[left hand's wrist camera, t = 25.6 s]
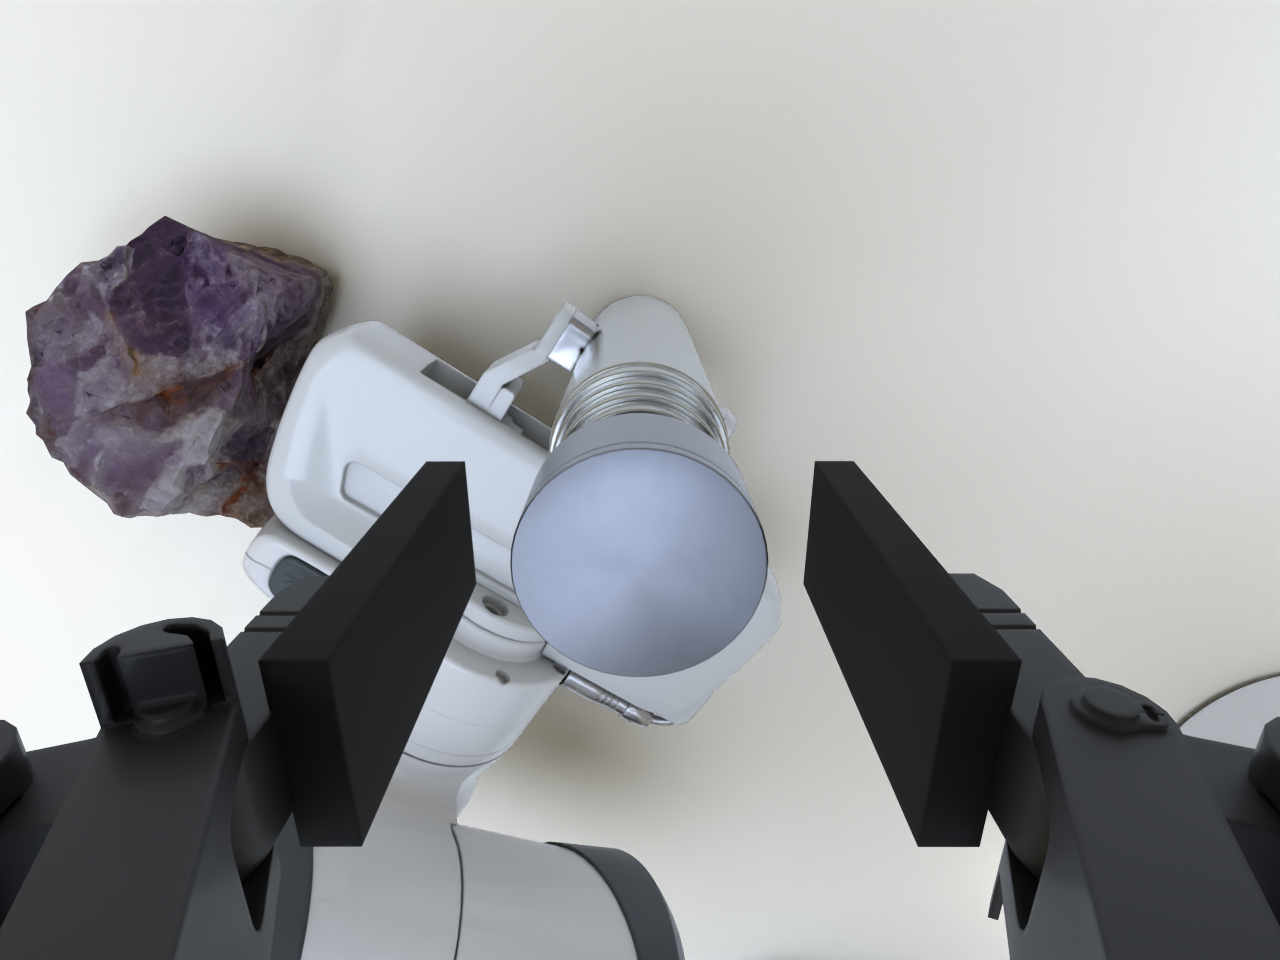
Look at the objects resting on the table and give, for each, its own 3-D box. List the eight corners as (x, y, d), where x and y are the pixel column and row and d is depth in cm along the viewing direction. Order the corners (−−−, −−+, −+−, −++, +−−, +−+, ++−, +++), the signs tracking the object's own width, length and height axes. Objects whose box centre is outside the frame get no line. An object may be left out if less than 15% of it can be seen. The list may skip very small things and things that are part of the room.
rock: (386, 285, 32) (156, 203, 31) (318, 274, 24) (-1, 161, 22) (321, 520, 34) (103, 454, 33) (237, 585, 26) (-59, 500, 25)
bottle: (675, 410, 33) (723, 677, 14) (577, 385, 33) (491, 627, 14) (704, 310, 32) (800, 463, 13) (600, 283, 31) (540, 398, 12)
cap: (739, 619, 15) (754, 682, 13) (529, 610, 15) (512, 673, 13) (761, 417, 14) (782, 453, 12) (527, 407, 14) (506, 442, 12)
